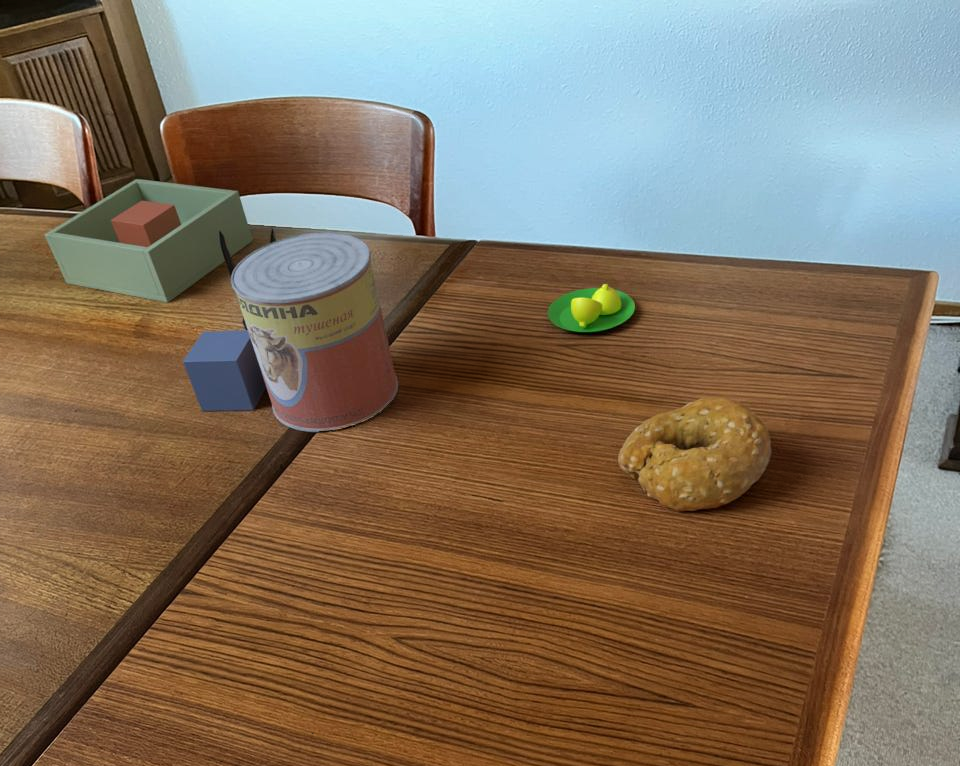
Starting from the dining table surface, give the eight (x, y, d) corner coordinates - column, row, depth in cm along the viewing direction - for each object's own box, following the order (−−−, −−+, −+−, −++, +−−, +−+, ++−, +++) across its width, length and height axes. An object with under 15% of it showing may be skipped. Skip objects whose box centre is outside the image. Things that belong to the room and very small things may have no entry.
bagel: (649, 422, 77) (650, 369, 73) (786, 452, 72) (794, 397, 69) (595, 496, 71) (592, 443, 68) (739, 533, 67) (745, 478, 63)
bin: (66, 283, 108) (43, 234, 104) (153, 226, 116) (136, 178, 112) (167, 302, 102) (148, 251, 98) (253, 240, 110) (238, 190, 106)
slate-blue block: (201, 411, 86) (182, 361, 83) (220, 380, 90) (202, 331, 86) (253, 410, 85) (236, 360, 82) (271, 379, 89) (255, 329, 85)
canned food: (246, 411, 85) (201, 282, 77) (332, 349, 91) (299, 223, 82) (338, 446, 80) (301, 312, 71) (423, 378, 86) (399, 246, 77)
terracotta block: (128, 264, 108) (110, 219, 105) (158, 244, 111) (141, 200, 108) (160, 269, 106) (143, 224, 103) (190, 249, 109) (174, 204, 106)
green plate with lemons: (621, 341, 86) (620, 312, 84) (536, 334, 88) (533, 305, 86) (645, 297, 90) (645, 268, 88) (563, 291, 93) (561, 263, 91)
